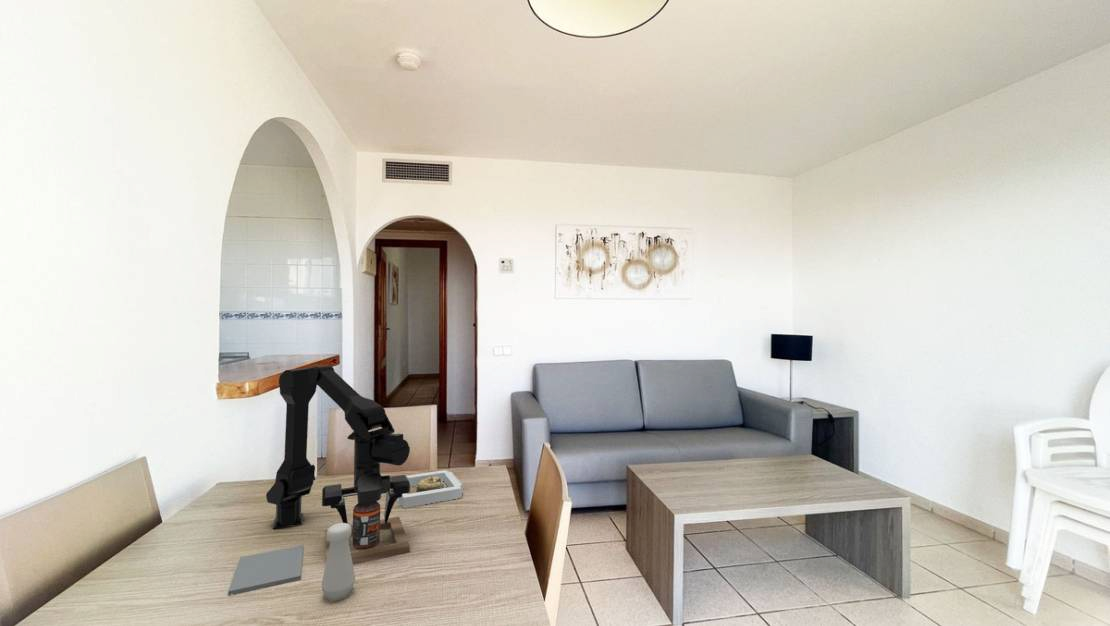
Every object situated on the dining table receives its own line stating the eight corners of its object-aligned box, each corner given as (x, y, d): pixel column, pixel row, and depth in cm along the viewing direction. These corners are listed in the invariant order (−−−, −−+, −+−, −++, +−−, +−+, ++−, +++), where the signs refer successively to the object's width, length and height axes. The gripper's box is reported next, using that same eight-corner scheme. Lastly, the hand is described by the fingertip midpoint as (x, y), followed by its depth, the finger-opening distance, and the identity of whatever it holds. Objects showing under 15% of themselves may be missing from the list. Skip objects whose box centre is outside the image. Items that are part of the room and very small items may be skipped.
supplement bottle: (370, 551, 102) (370, 501, 103) (346, 548, 104) (347, 499, 104) (385, 539, 108) (385, 491, 108) (362, 536, 109) (363, 489, 110)
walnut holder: (325, 535, 110) (325, 529, 110) (398, 522, 117) (399, 516, 117) (325, 570, 94) (325, 563, 95) (409, 552, 102) (410, 545, 102)
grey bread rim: (390, 487, 142) (391, 477, 142) (449, 478, 150) (449, 469, 150) (399, 509, 125) (399, 498, 125) (464, 497, 134) (464, 487, 134)
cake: (419, 503, 132) (417, 485, 132) (411, 492, 140) (410, 475, 140) (452, 494, 136) (451, 476, 136) (443, 484, 145) (442, 467, 145)
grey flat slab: (240, 560, 98) (240, 557, 98) (303, 548, 104) (303, 544, 104) (227, 595, 86) (228, 591, 86) (300, 579, 91) (300, 575, 91)
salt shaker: (329, 586, 89) (330, 519, 89) (359, 584, 89) (360, 518, 90) (315, 604, 83) (317, 533, 83) (348, 603, 84) (349, 532, 84)
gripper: (322, 475, 95) (321, 551, 95) (414, 463, 103) (413, 532, 103) (322, 461, 105) (321, 529, 104) (406, 451, 113) (405, 513, 113)
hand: (366, 526), depth 106 cm, fingers open, 8 cm apart
